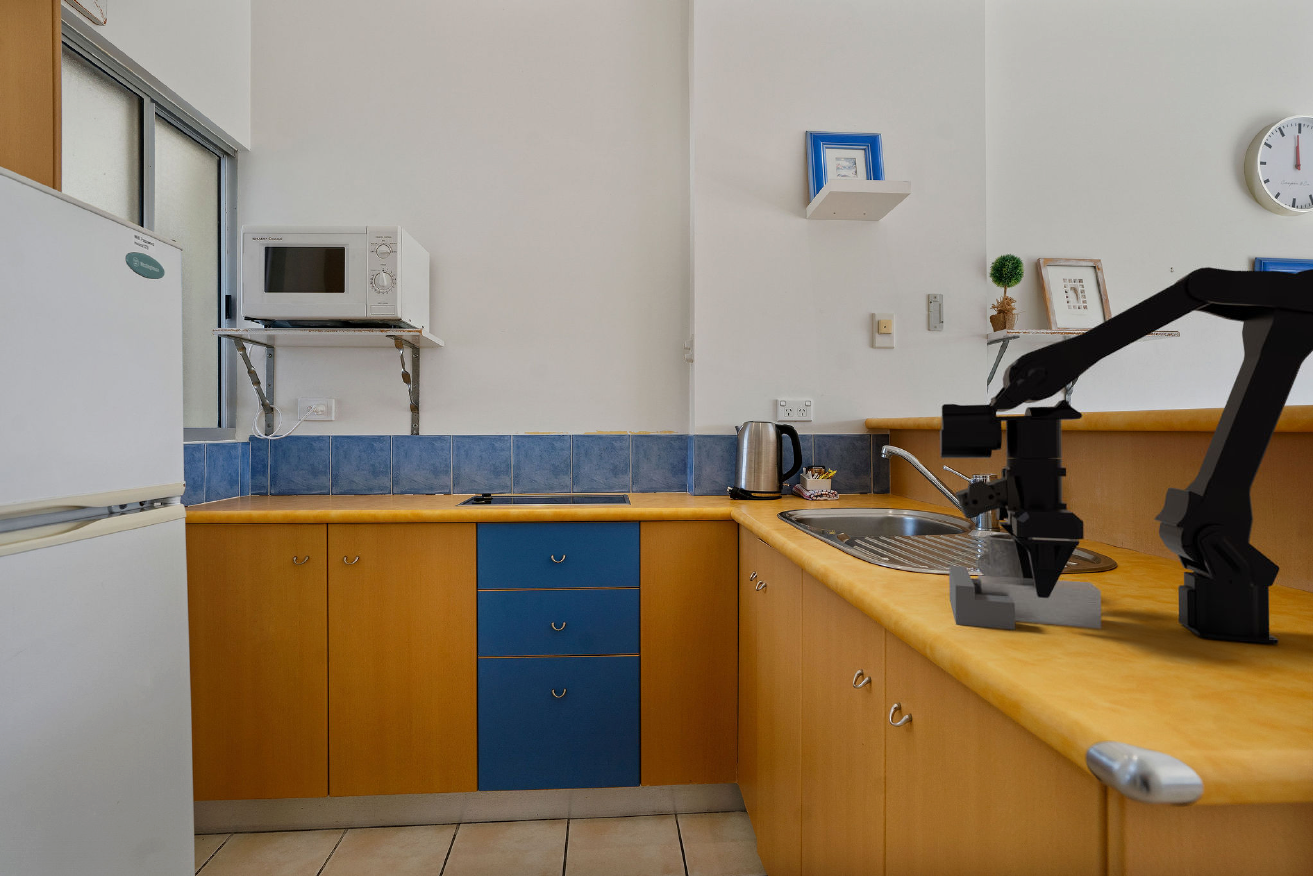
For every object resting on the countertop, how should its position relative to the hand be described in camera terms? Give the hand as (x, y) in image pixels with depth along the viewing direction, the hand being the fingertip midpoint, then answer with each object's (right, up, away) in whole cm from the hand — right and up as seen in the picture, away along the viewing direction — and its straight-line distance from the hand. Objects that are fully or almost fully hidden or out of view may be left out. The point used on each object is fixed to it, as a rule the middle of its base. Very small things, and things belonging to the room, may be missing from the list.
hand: (1035, 588), depth 75 cm
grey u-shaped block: (-6, -4, +2) cm, 7 cm away
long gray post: (0, -4, 0) cm, 4 cm away
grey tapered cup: (+5, -4, +16) cm, 17 cm away
